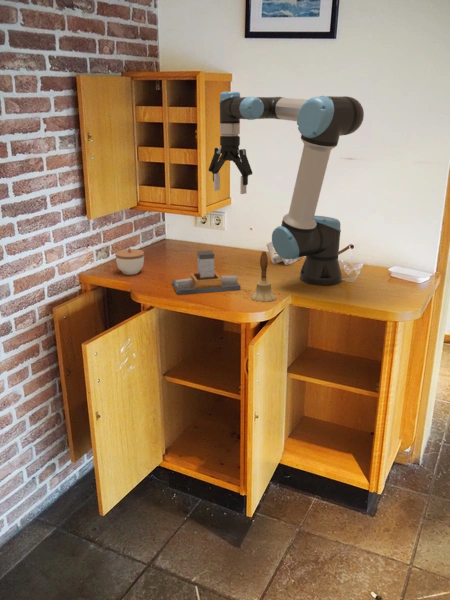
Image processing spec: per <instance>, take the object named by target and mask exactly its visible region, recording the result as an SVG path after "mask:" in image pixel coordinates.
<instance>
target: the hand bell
mask: <svg viewBox="0 0 450 600" xmlns="http://www.w3.org/2000/svg"><path fill="white" fill-rule="evenodd" d="M268 259H269V258H268V255H267V252H266V251H262V252H261V255H260V258H259V261H260V262H259V265H260V269H261V278H260V280H258V282H257V283H256V288H255V291H254V292H253V293H252V295H251V297H250V298H251V300H252V301H255V300H256V301H255V302H258V301H261V302H260V303H267V302H268V303H269V302H272V301H275V300H276V299H277V297H276V295H275V294H274V293H273V291H272V286H271V282H270V281H268V280H267V269H268V266H269V265H268V264H269V260H268Z"/></svg>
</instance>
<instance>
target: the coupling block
mask: <svg viewBox="0 0 450 600" xmlns="http://www.w3.org/2000/svg"><path fill="white" fill-rule="evenodd" d="M196 253H197V254H196V258H197V259H196V260H197V261H196V262H197V264H196V266H197V273H198V280H205V279H214V271H215V253H214V252H213V250H197V252H196Z"/></svg>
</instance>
